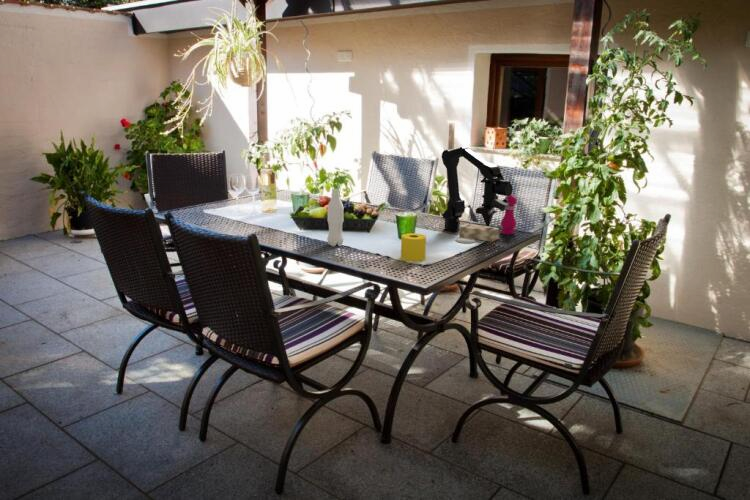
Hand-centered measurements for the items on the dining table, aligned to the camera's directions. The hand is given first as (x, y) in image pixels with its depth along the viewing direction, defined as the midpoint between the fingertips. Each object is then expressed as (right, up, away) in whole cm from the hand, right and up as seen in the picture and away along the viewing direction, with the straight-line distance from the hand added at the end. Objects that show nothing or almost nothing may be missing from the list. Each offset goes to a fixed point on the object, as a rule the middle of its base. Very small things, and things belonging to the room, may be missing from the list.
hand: (487, 226), depth 285 cm
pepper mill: (+12, -3, +14) cm, 19 cm away
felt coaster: (-11, -7, -3) cm, 13 cm away
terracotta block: (-4, -3, +3) cm, 6 cm away
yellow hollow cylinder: (-37, -15, -32) cm, 51 cm away
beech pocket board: (-4, -5, +4) cm, 7 cm away
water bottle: (-70, -9, -15) cm, 72 cm away
